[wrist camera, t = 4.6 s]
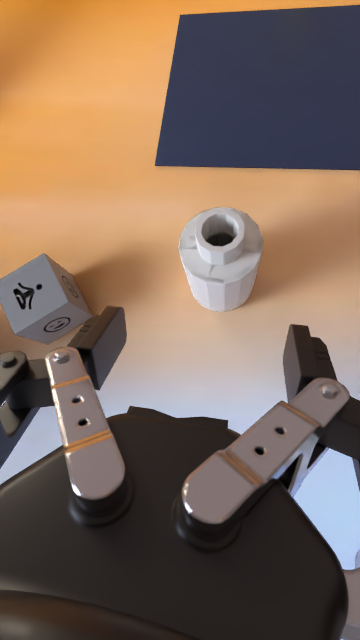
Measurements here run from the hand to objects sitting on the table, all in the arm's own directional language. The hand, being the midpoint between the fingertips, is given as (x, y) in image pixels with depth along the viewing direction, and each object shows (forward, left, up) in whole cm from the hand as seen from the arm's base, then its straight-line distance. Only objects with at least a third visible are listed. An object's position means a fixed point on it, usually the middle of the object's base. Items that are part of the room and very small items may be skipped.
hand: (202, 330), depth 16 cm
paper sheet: (+2, +29, -13) cm, 32 cm away
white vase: (0, +7, -13) cm, 15 cm away
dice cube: (-15, +3, -13) cm, 20 cm away
